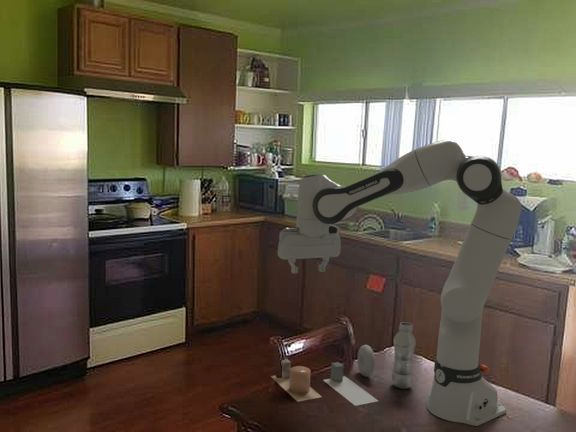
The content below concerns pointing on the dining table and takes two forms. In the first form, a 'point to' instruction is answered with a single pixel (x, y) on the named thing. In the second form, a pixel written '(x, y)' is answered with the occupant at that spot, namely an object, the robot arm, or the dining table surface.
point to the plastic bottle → (403, 357)
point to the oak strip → (286, 379)
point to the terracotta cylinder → (299, 380)
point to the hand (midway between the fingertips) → (308, 272)
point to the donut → (366, 360)
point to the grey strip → (347, 386)
